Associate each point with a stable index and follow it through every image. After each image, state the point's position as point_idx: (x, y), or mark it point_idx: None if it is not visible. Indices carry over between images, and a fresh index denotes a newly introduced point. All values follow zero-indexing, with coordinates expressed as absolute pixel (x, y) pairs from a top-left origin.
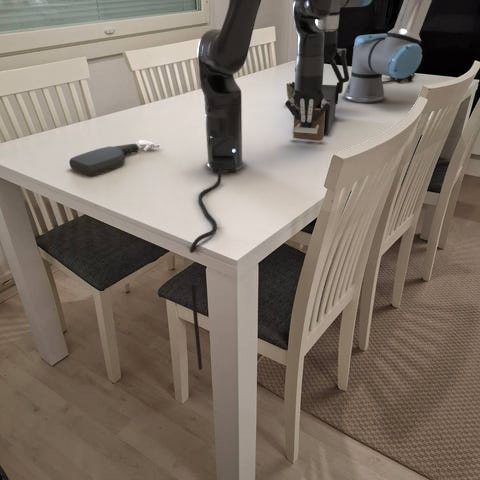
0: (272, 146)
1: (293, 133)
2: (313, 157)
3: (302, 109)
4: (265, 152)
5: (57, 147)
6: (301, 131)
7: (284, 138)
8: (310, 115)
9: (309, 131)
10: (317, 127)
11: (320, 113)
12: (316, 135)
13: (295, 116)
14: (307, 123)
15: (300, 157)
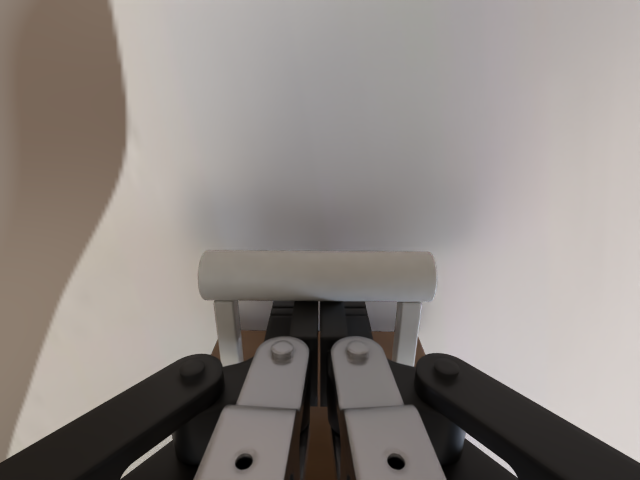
0: (544, 197)
1: (423, 351)
2: (219, 42)
3: (403, 472)
4: (602, 56)
5: None
6: (355, 251)
7: (467, 348)
8: (259, 403)
9: (275, 252)
10: (220, 348)
11: (87, 437)
12: (257, 347)
13: (475, 383)
14: (304, 332)
15: (316, 13)
